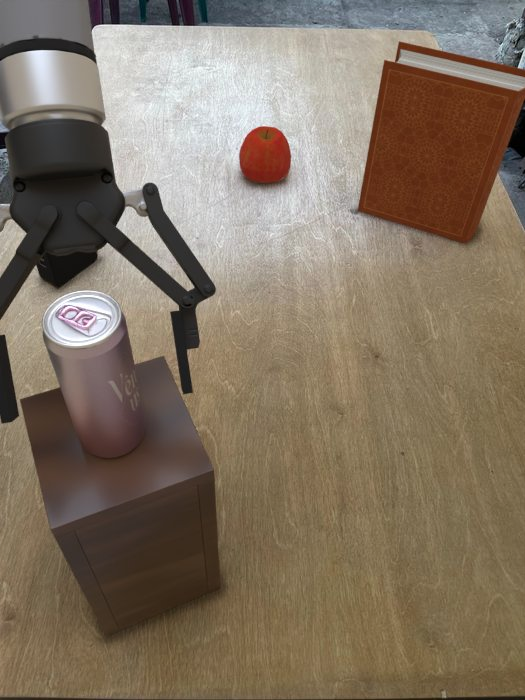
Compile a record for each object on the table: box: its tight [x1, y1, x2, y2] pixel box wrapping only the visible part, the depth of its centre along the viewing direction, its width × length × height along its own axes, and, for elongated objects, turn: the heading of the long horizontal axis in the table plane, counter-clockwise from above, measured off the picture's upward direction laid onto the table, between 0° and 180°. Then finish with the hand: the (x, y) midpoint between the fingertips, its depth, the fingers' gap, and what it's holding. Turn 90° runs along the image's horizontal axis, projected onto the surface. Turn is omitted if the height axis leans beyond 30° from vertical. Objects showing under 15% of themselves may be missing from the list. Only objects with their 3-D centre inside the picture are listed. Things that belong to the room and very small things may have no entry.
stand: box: [19, 355, 221, 637], centre depth 66 cm, size 14×14×28 cm
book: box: [357, 40, 525, 244], centre depth 113 cm, size 23×8×30 cm, turn 65°
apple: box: [238, 125, 292, 184], centre depth 128 cm, size 11×11×11 cm
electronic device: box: [35, 251, 99, 288], centre depth 107 cm, size 4×10×10 cm, turn 145°
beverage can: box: [41, 289, 146, 458], centre depth 50 cm, size 6×6×15 cm
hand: (101, 405), depth 49 cm, fingers open, 13 cm apart
